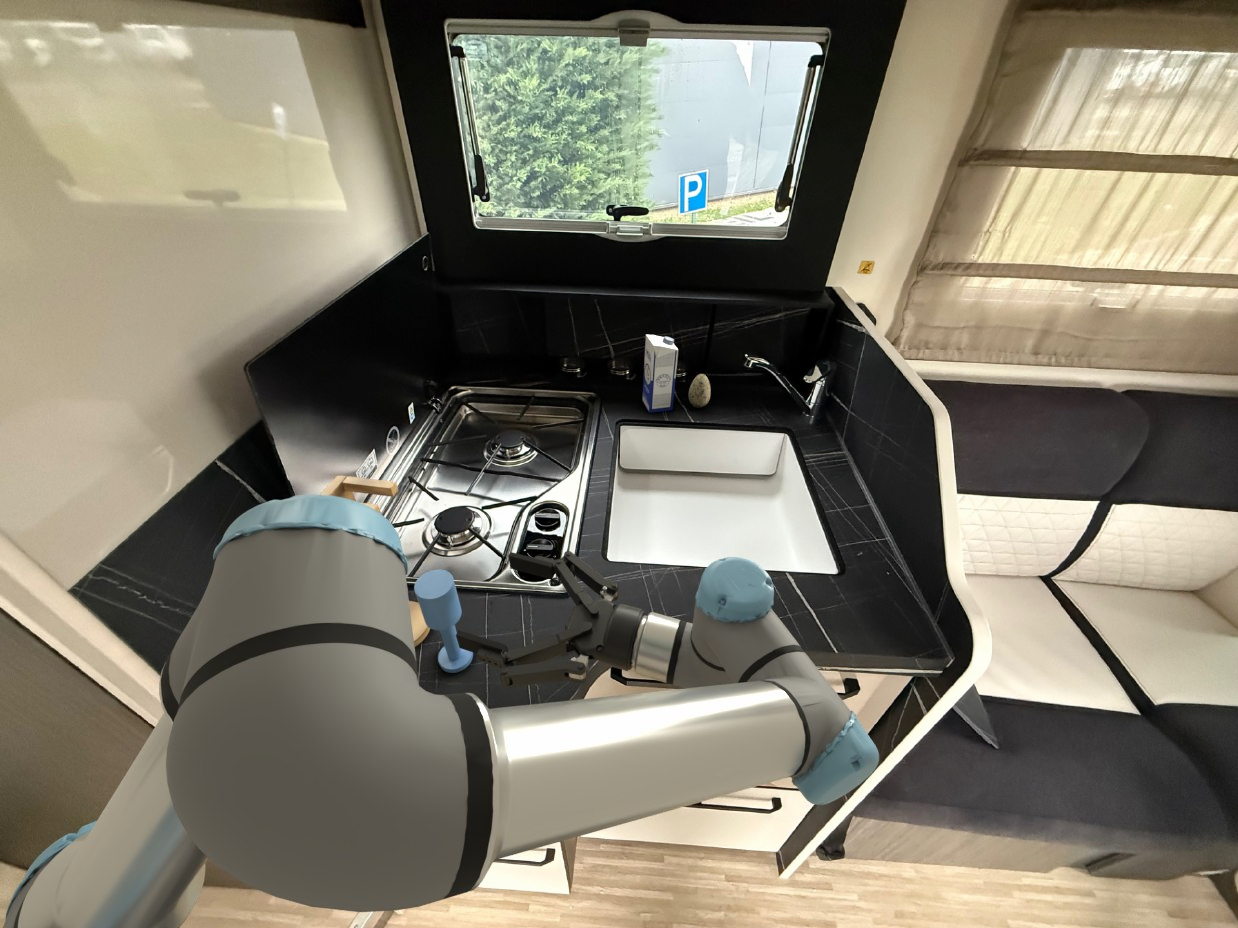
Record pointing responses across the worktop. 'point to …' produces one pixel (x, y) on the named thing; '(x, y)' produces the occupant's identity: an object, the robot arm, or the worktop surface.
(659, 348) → the milk carton
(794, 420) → the worktop surface
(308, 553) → the robot arm
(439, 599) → the peg
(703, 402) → the decorative egg
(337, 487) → the stand
